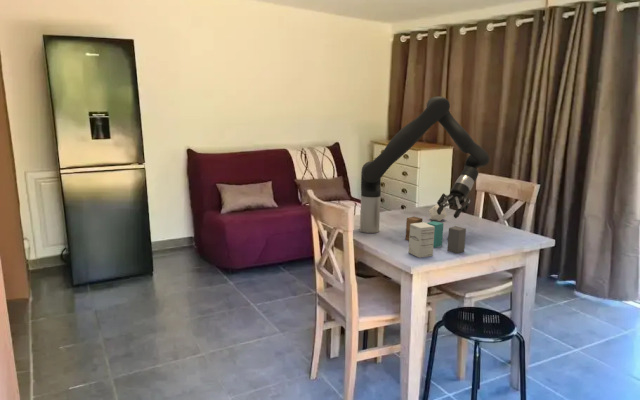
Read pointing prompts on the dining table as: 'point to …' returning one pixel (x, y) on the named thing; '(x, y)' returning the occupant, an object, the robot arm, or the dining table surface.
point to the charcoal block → (456, 239)
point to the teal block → (437, 233)
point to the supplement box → (421, 239)
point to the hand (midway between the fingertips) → (446, 215)
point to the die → (435, 215)
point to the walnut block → (411, 221)
